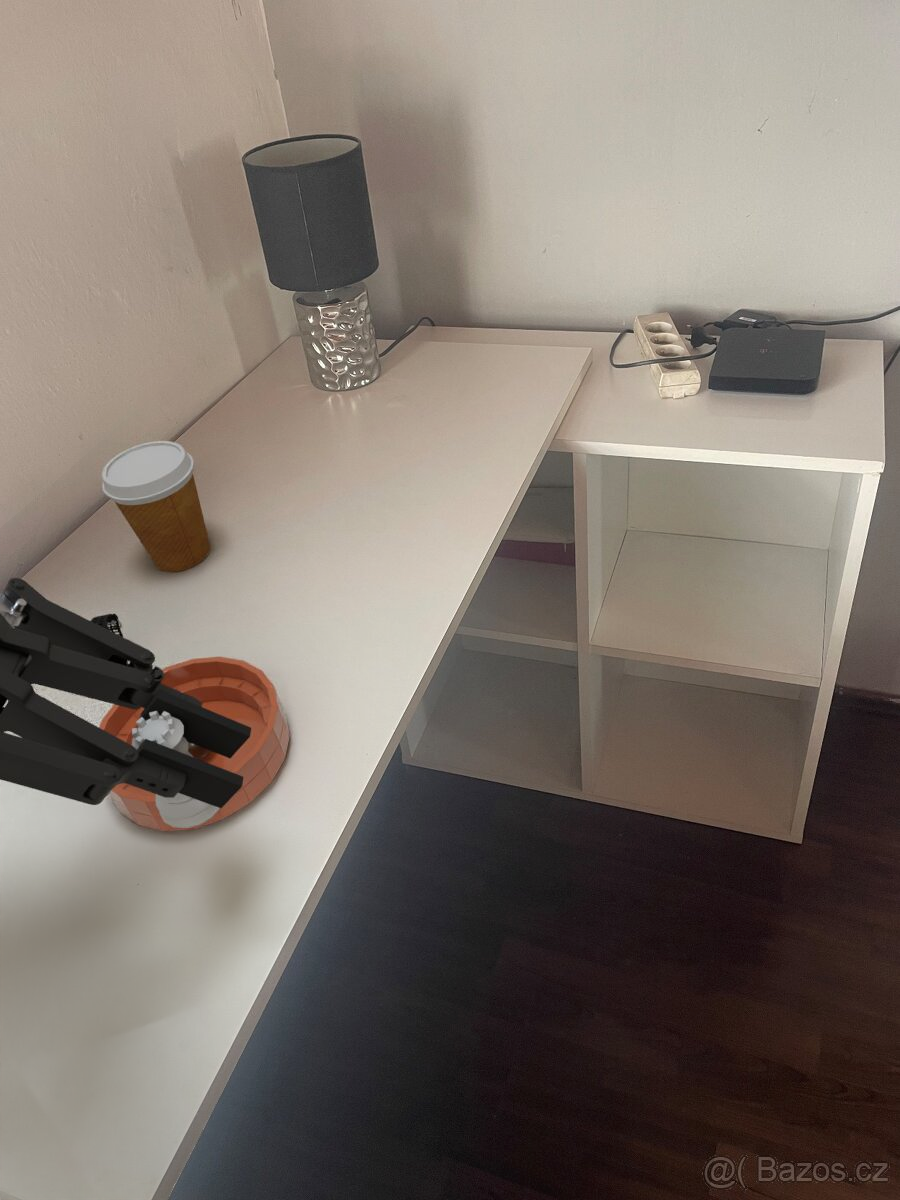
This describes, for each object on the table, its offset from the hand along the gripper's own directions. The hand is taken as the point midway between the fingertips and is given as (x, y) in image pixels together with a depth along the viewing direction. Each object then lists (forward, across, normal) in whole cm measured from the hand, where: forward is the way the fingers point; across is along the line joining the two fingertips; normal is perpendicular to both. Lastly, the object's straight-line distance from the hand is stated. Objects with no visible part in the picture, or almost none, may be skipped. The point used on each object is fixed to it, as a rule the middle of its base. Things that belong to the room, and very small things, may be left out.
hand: (236, 767), depth 56 cm
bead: (+1, -12, -13) cm, 18 cm away
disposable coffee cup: (-2, -42, -20) cm, 47 cm away
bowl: (+3, -12, -15) cm, 19 cm away
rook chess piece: (0, 0, -5) cm, 5 cm away
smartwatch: (-4, -26, -22) cm, 35 cm away
